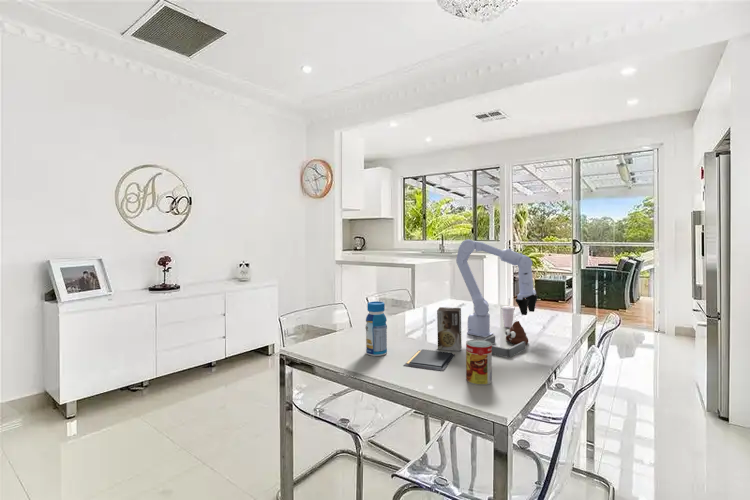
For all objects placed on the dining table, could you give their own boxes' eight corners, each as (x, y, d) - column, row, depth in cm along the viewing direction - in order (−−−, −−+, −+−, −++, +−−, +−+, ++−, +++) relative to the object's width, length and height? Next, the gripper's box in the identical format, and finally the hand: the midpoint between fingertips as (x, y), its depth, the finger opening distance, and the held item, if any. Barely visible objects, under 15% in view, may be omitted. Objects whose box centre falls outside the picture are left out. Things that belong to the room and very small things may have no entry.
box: (475, 349, 153) (475, 342, 153) (493, 342, 163) (493, 335, 162) (509, 357, 143) (509, 349, 143) (525, 349, 153) (525, 341, 152)
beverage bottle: (383, 357, 145) (382, 305, 144) (362, 355, 148) (361, 304, 147) (390, 351, 153) (389, 301, 152) (370, 349, 155) (369, 300, 155)
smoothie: (515, 328, 186) (515, 299, 185) (502, 327, 187) (502, 299, 186) (513, 325, 192) (513, 297, 191) (500, 324, 193) (500, 297, 192)
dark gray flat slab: (443, 368, 129) (401, 362, 136) (443, 374, 129) (401, 367, 136) (456, 351, 147) (419, 346, 154) (456, 356, 147) (419, 351, 154)
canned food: (466, 374, 127) (466, 338, 126) (491, 376, 124) (491, 340, 124) (465, 383, 119) (465, 345, 118) (491, 386, 117) (491, 347, 116)
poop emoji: (532, 344, 159) (533, 322, 159) (515, 346, 157) (515, 324, 156) (517, 338, 169) (517, 317, 168) (500, 340, 166) (500, 318, 166)
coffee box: (461, 346, 157) (461, 307, 156) (460, 351, 151) (459, 310, 150) (439, 344, 160) (439, 306, 159) (437, 349, 154) (436, 309, 153)
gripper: (527, 285, 161) (529, 317, 161) (541, 280, 171) (543, 310, 171) (511, 284, 166) (513, 315, 166) (526, 280, 176) (528, 309, 176)
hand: (528, 313), depth 169 cm, fingers open, 7 cm apart
